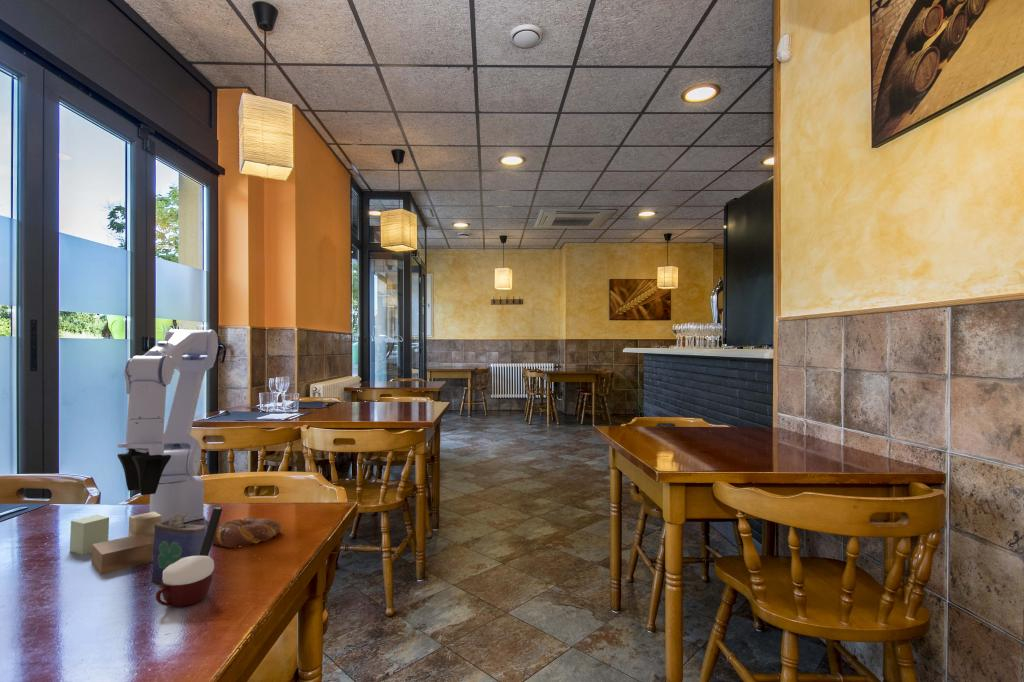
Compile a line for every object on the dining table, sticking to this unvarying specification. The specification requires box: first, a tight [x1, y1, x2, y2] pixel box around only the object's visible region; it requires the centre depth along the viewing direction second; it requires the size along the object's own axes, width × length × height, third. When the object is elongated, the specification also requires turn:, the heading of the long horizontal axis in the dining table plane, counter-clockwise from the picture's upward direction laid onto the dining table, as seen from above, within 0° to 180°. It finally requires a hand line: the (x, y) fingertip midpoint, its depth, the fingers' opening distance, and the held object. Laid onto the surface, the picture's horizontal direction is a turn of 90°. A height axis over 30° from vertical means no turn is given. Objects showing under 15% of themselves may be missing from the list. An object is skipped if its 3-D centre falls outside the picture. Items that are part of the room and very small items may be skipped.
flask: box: [151, 513, 207, 586], centre depth 79 cm, size 9×3×11 cm, turn 74°
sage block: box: [69, 514, 110, 556], centre depth 92 cm, size 4×4×6 cm
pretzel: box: [212, 517, 282, 548], centre depth 99 cm, size 12×11×4 cm
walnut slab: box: [91, 534, 154, 576], centre depth 87 cm, size 7×7×4 cm
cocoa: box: [155, 506, 223, 608], centre depth 73 cm, size 10×6×12 cm, turn 139°
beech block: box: [128, 511, 162, 548], centre depth 95 cm, size 4×4×6 cm
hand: (141, 492), depth 94 cm, fingers open, 7 cm apart
